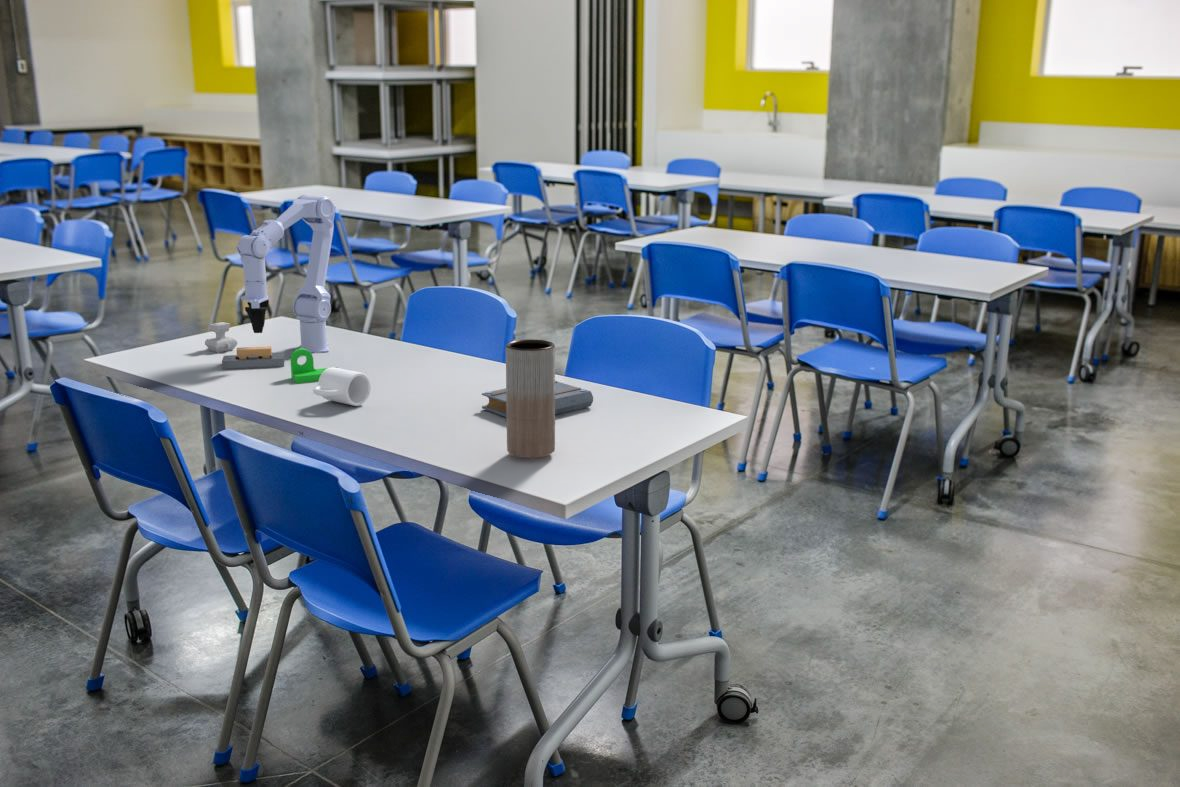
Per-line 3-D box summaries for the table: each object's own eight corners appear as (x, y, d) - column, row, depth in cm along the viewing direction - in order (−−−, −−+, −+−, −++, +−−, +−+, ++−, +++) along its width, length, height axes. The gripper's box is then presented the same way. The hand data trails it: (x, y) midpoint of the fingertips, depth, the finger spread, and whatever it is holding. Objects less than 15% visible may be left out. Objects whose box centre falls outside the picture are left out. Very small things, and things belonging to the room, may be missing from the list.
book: (524, 424, 252) (523, 403, 250) (481, 409, 264) (480, 389, 262) (593, 408, 265) (593, 388, 264) (549, 395, 277) (549, 375, 276)
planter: (516, 441, 237) (515, 337, 231) (561, 446, 234) (561, 341, 229) (499, 455, 228) (498, 347, 222) (545, 460, 225) (545, 351, 219)
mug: (343, 395, 273) (341, 364, 271) (371, 402, 268) (370, 370, 266) (305, 406, 264) (303, 373, 262) (334, 412, 258) (332, 379, 256)
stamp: (203, 351, 320) (200, 323, 318) (223, 348, 325) (221, 319, 323) (219, 356, 314) (217, 327, 312) (240, 352, 319) (238, 323, 317)
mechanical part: (296, 384, 285) (294, 353, 283) (291, 378, 290) (289, 349, 288) (342, 379, 290) (341, 349, 288) (337, 374, 295) (335, 345, 293)
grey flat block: (224, 364, 304) (223, 355, 304) (284, 361, 308) (284, 353, 307) (222, 370, 298) (221, 361, 297) (284, 367, 301) (283, 358, 301)
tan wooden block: (238, 365, 303) (237, 347, 302) (272, 364, 305) (271, 346, 304) (237, 367, 301) (236, 350, 299) (272, 366, 303) (270, 348, 301)
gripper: (241, 276, 304) (245, 325, 307) (237, 285, 290) (241, 336, 293) (268, 275, 305) (271, 324, 309) (265, 284, 292) (269, 334, 295)
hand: (259, 329), depth 301 cm, fingers open, 7 cm apart
